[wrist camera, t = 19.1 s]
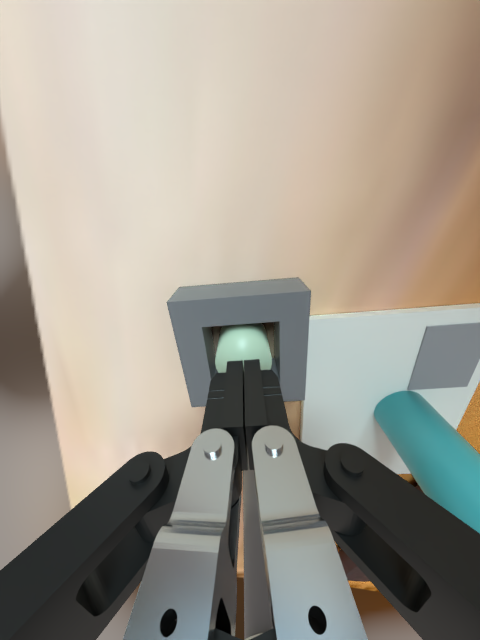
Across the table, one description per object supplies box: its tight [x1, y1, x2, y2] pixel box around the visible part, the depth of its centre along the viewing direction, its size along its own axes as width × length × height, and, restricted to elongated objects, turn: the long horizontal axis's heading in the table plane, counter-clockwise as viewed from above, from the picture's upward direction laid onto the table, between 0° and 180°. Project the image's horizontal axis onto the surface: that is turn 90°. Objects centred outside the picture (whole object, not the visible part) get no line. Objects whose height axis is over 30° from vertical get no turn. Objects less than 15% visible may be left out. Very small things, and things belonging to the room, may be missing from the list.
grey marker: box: [243, 449, 272, 640], centre depth 13 cm, size 4×4×12 cm
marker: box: [374, 391, 480, 533], centre depth 11 cm, size 4×4×12 cm
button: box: [215, 323, 272, 373], centre depth 13 cm, size 3×3×3 cm
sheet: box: [300, 303, 480, 474], centre depth 17 cm, size 16×12×1 cm
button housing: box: [167, 278, 311, 407], centre depth 13 cm, size 7×7×2 cm
